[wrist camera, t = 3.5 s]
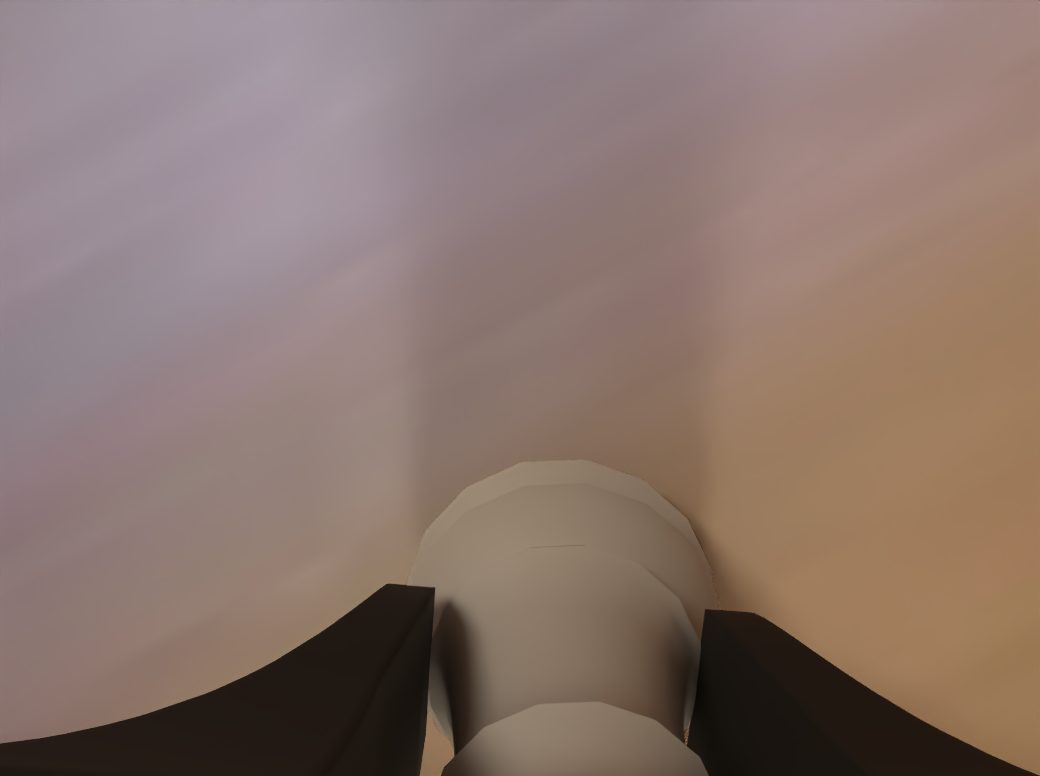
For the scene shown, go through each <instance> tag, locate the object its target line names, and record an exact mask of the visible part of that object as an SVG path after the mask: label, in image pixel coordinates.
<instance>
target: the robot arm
mask: <svg viewBox="0 0 1040 776" xmlns="http://www.w3.org/2000/svg"><path fill="white" fill-rule="evenodd" d="M434 602H435V587H423V586H411V585H398V584H386V585H385V586H383V587H382V588H380V589H379V590H378V591H376V592H375V593H374V594H372V595H371V596H370V597H368V598H367V599H366V600H365V601H363V602H362V603H361V604H359V605H358V606H357V607H355V608H354V609H353V610H351V611H350V612H349V613H347V614H346V615H345V616H343V617H342V618H340V619H339V620H338V621H336V622H335V623H333V624H332V625H331V626H329V627H328V628H327V629H325V630H324V631H322V632H321V633H319V634H318V635H316V636H314V637H313V638H311V639H310V640H308V641H306V642H305V643H303V644H302V645H300V646H298V647H297V648H295V649H293V650H292V651H290V652H289V653H287V654H285V655H284V656H282V657H281V658H279V659H277V660H276V661H274V662H272V663H270V664H268V665H266V666H265V667H263V668H261V669H259V670H257V671H255V672H253V673H251V674H249V675H247V676H245V677H243V678H240V679H238V680H236V681H234V682H232V683H229V684H227V685H225V686H223V687H221V688H218V689H216V690H213V691H211V692H209V693H206V694H203V695H201V696H198V697H195V698H192V699H189V700H186V701H183V702H180V703H177V704H174V705H171V706H168V707H166V708H163V709H160V710H157V711H154V712H151V713H148V714H145V715H142V716H138V717H135V718H131V719H127V720H123V721H119V722H115V723H111V724H108V725H104V726H99V727H95V728H90V729H85V730H81V731H76V732H71V733H67V734H62V735H56V736H50V737H45V738H39V739H32V740H24V741H17V742H9V743H2V744H0V776H419V775H420V769H421V762H422V755H423V749H424V742H425V735H426V722H427V707H428V692H429V670H430V654H431V642H432V632H433V617H434ZM687 747H688V748H690V749H691V750H692V751H693V752H694V753H696V754H697V755H698V756H699V757H700V759H701V761H702V763H703V765H704V767H705V769H706V771H707V773H708V775H709V776H1039V775H1037V774H1034V773H1032V772H1029V771H1026V770H1024V769H1021V768H1019V767H1017V766H1014V765H1012V764H1010V763H1008V762H1005V761H1003V760H1001V759H998V758H996V757H994V756H992V755H989V754H987V753H985V752H983V751H981V750H979V749H977V748H975V747H973V746H971V745H969V744H967V743H965V742H963V741H961V740H959V739H957V738H955V737H953V736H951V735H949V734H947V733H945V732H943V731H941V730H939V729H937V728H935V727H933V726H931V725H930V724H928V723H926V722H924V721H922V720H920V719H919V718H917V717H915V716H913V715H912V714H910V713H908V712H907V711H905V710H903V709H902V708H900V707H898V706H897V705H895V704H893V703H892V702H890V701H888V700H887V699H885V698H883V697H882V696H880V695H878V694H877V693H875V692H874V691H872V690H870V689H869V688H867V687H866V686H864V685H863V684H861V683H860V682H858V681H856V680H855V679H853V678H852V677H850V676H849V675H847V674H846V673H844V672H843V671H841V670H840V669H839V668H837V667H836V666H834V665H833V664H831V663H830V662H828V661H827V660H825V659H824V658H823V657H821V656H820V655H818V654H817V653H815V652H814V651H812V650H811V649H810V648H808V647H807V646H805V645H804V644H802V643H801V642H800V641H798V640H797V639H795V638H794V637H792V636H791V635H789V634H788V633H787V632H785V631H784V630H782V629H781V628H779V627H778V626H776V625H775V624H773V623H771V622H770V621H768V620H766V619H765V618H763V617H761V616H759V615H757V614H755V613H748V612H736V611H723V610H711V609H705V613H704V621H703V628H702V636H701V653H700V662H699V672H698V682H697V691H696V699H695V704H694V709H693V714H692V717H691V721H690V728H689V736H688V744H687Z"/></svg>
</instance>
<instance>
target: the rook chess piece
mask: <svg viewBox="0 0 1040 776" xmlns="http://www.w3.org/2000/svg"><path fill="white" fill-rule="evenodd" d="M406 585H411V586H423V587H435V602H434V617H433V632H432V642H431V654H430V670H429V692H428V707H427V710H428V712H429V714H430V716H431V718H432V720H433V721H434V723H435V725H436V727H437V729H438V731H439V732H440V733H441V734H443V735H444V736H445V737H446V738H448V739H449V741H450V743H451V744H452V746H453V748H454V755H455V757H454V758H453V759H452V760H451V761H450V762H449V763H448V764H447V765H446V766H445V767H444V769H443V772H442V774H441V776H709V775H708V773H707V771H706V769H705V767H704V765H703V763H702V761H701V759H700V757H699V756H698V755H697V754H696V753H694V752H693V751H692V750H691V749H690V748H688V747H687V746H686V745H685V740H684V733H685V731H686V729H687V728H688V727H689V726H690V721H691V717H692V714H693V709H694V704H695V699H696V691H697V682H698V672H699V662H700V653H701V636H702V628H703V621H704V613H705V609H711V610H719V598H718V596H717V594H716V592H715V589H714V587H713V585H712V570H711V568H710V566H709V564H708V562H707V559H706V557H705V555H704V553H703V551H702V549H701V546H700V544H699V542H698V540H697V538H696V536H695V534H694V531H693V529H692V527H691V525H690V523H689V521H688V519H687V518H686V517H685V516H684V515H683V514H682V513H680V512H679V511H678V510H677V509H676V508H675V507H674V506H673V505H671V504H670V503H669V502H668V501H667V500H666V499H665V498H664V497H662V496H661V495H660V494H659V493H658V492H657V491H656V490H654V489H653V488H652V487H651V486H650V485H649V484H648V483H647V482H645V481H644V480H643V479H641V478H638V477H635V476H632V475H629V474H626V473H624V472H621V471H618V470H615V469H612V468H609V467H606V466H603V465H600V464H598V463H595V462H592V461H589V460H586V459H572V460H550V461H529V462H520V463H518V464H516V465H514V466H512V467H509V468H507V469H505V470H503V471H501V472H498V473H496V474H494V475H492V476H490V477H487V478H485V479H483V480H481V481H479V482H476V483H474V484H472V485H470V486H468V487H466V488H465V489H464V490H463V491H462V492H461V493H460V494H459V495H458V496H457V497H456V498H455V499H454V500H453V501H452V503H451V504H450V505H449V506H448V507H447V508H446V509H445V510H444V511H443V512H442V513H441V514H440V515H439V517H438V518H437V519H436V520H435V521H434V522H433V523H432V524H431V525H430V526H429V527H428V528H427V529H426V530H425V533H424V535H423V538H422V541H421V544H420V547H419V550H418V552H417V555H416V558H415V561H414V564H413V567H412V569H411V572H410V575H409V578H408V581H407V584H406Z"/></svg>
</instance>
